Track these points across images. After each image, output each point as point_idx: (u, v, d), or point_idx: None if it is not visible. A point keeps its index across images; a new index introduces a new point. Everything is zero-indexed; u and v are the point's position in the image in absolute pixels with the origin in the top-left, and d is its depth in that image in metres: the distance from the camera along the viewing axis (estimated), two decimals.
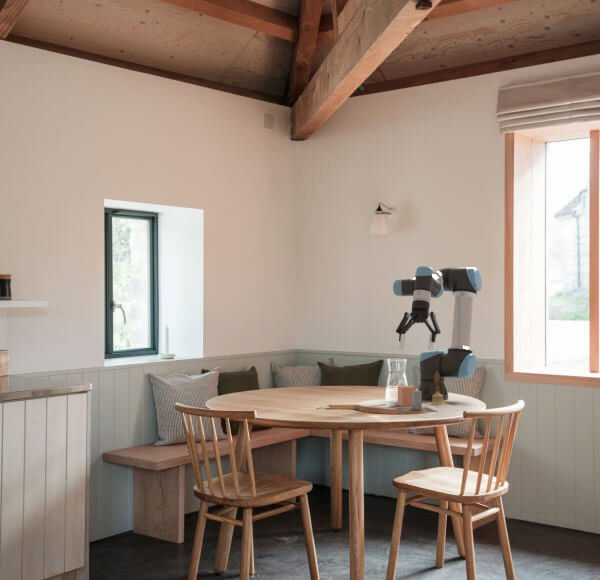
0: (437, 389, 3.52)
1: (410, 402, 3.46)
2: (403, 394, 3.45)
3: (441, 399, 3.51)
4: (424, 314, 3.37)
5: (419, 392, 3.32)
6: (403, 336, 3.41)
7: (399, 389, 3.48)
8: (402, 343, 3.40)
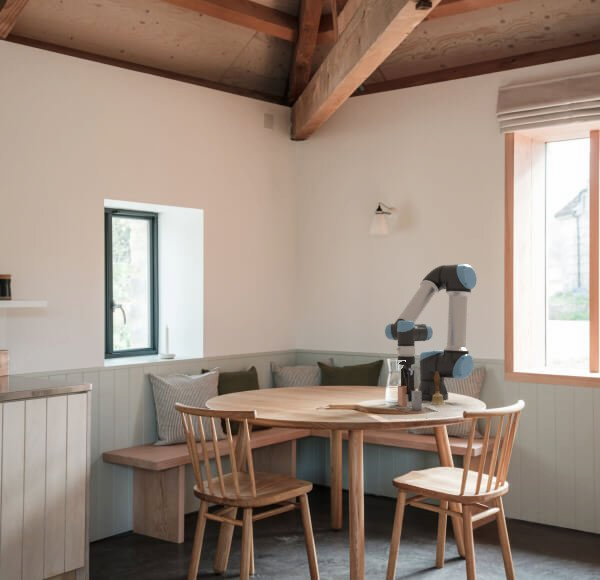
0: (437, 389, 3.52)
1: None
2: (403, 394, 3.45)
3: (441, 399, 3.51)
4: (406, 369, 3.46)
5: (419, 392, 3.32)
6: None
7: (399, 389, 3.48)
8: None
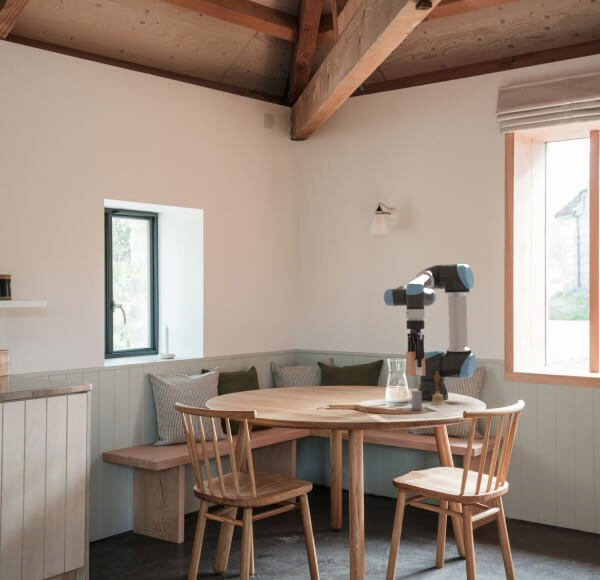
0: (437, 389, 3.52)
1: None
2: (412, 359, 3.30)
3: (441, 399, 3.51)
4: (415, 334, 3.31)
5: (419, 392, 3.32)
6: None
7: (408, 355, 3.34)
8: None
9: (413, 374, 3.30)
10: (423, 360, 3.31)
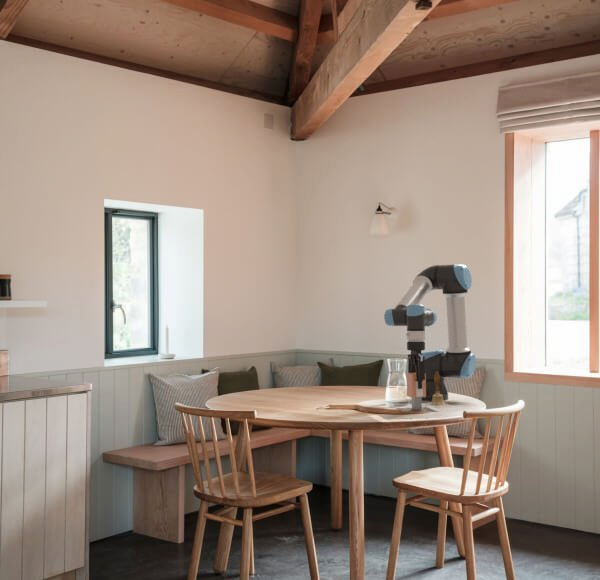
0: (437, 389, 3.52)
1: None
2: (413, 381, 3.30)
3: (441, 399, 3.51)
4: (415, 355, 3.31)
5: None
6: None
7: (408, 376, 3.34)
8: None
9: (414, 395, 3.30)
10: (424, 381, 3.31)
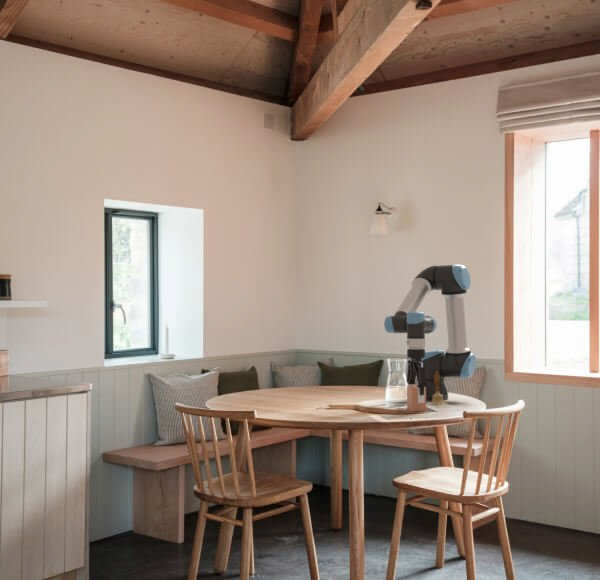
0: (437, 389, 3.52)
1: (420, 403, 3.31)
2: (413, 394, 3.30)
3: (441, 399, 3.51)
4: (416, 363, 3.31)
5: None
6: None
7: (408, 389, 3.34)
8: None
9: (414, 409, 3.30)
10: (424, 395, 3.31)
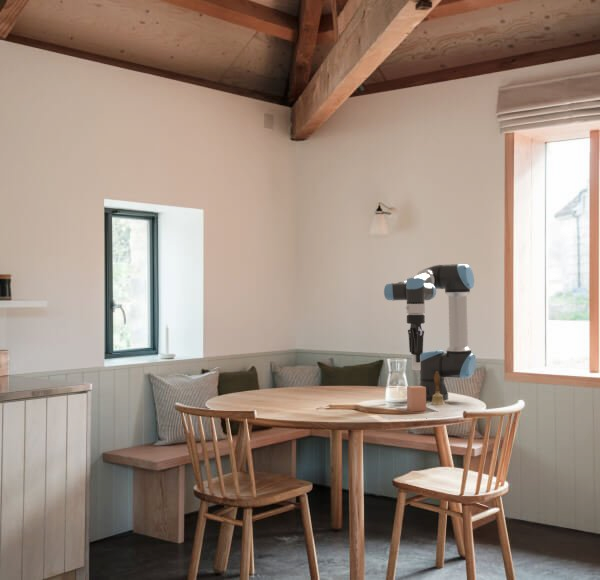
0: (437, 389, 3.52)
1: (420, 403, 3.31)
2: (413, 394, 3.30)
3: (441, 399, 3.51)
4: (415, 328, 3.31)
5: None
6: (414, 356, 3.35)
7: (408, 389, 3.34)
8: None
9: (414, 409, 3.30)
10: (424, 395, 3.31)
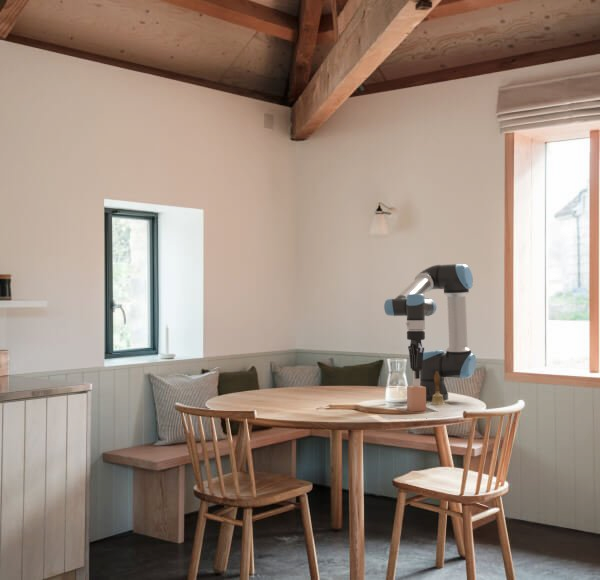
0: (437, 389, 3.52)
1: (420, 403, 3.31)
2: (413, 394, 3.30)
3: (441, 399, 3.51)
4: (415, 344, 3.31)
5: None
6: None
7: (408, 389, 3.34)
8: None
9: (414, 409, 3.30)
10: (424, 395, 3.31)
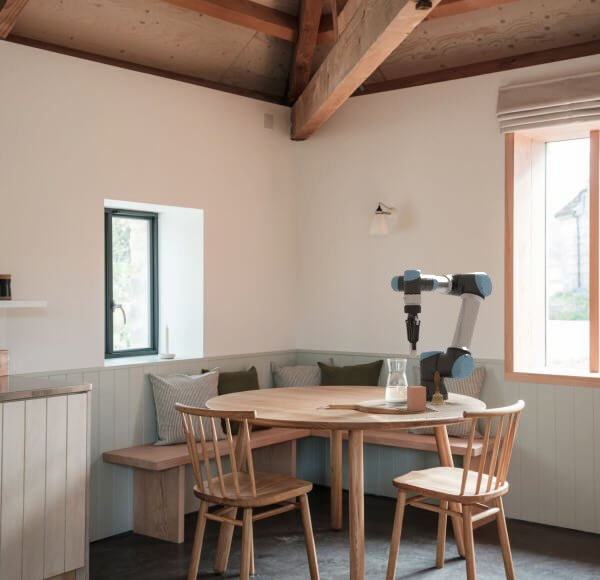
0: (437, 389, 3.52)
1: (420, 403, 3.31)
2: (413, 394, 3.30)
3: (441, 399, 3.51)
4: (412, 317, 3.49)
5: None
6: None
7: (408, 389, 3.34)
8: None
9: (414, 409, 3.30)
10: (424, 395, 3.31)
